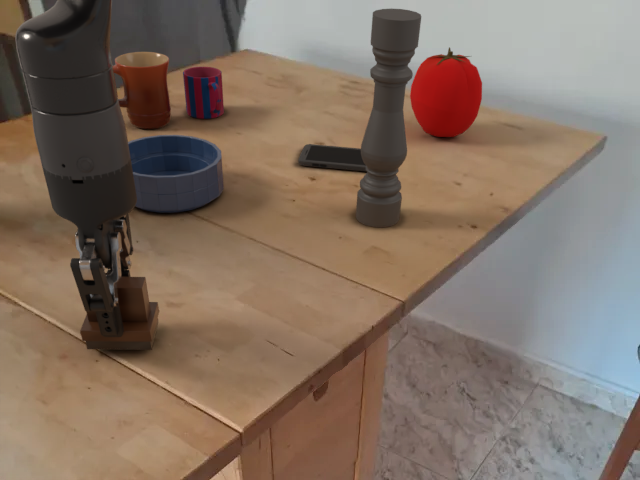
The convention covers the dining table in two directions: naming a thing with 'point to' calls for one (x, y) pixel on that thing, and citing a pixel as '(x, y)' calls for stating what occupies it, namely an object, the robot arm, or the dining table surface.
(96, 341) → the brown wooden stepped block
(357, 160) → the cell phone
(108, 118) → the robot arm
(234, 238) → the dining table surface
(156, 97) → the mug
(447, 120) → the tomato
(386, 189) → the candle holder
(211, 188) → the bowl
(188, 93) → the cup
